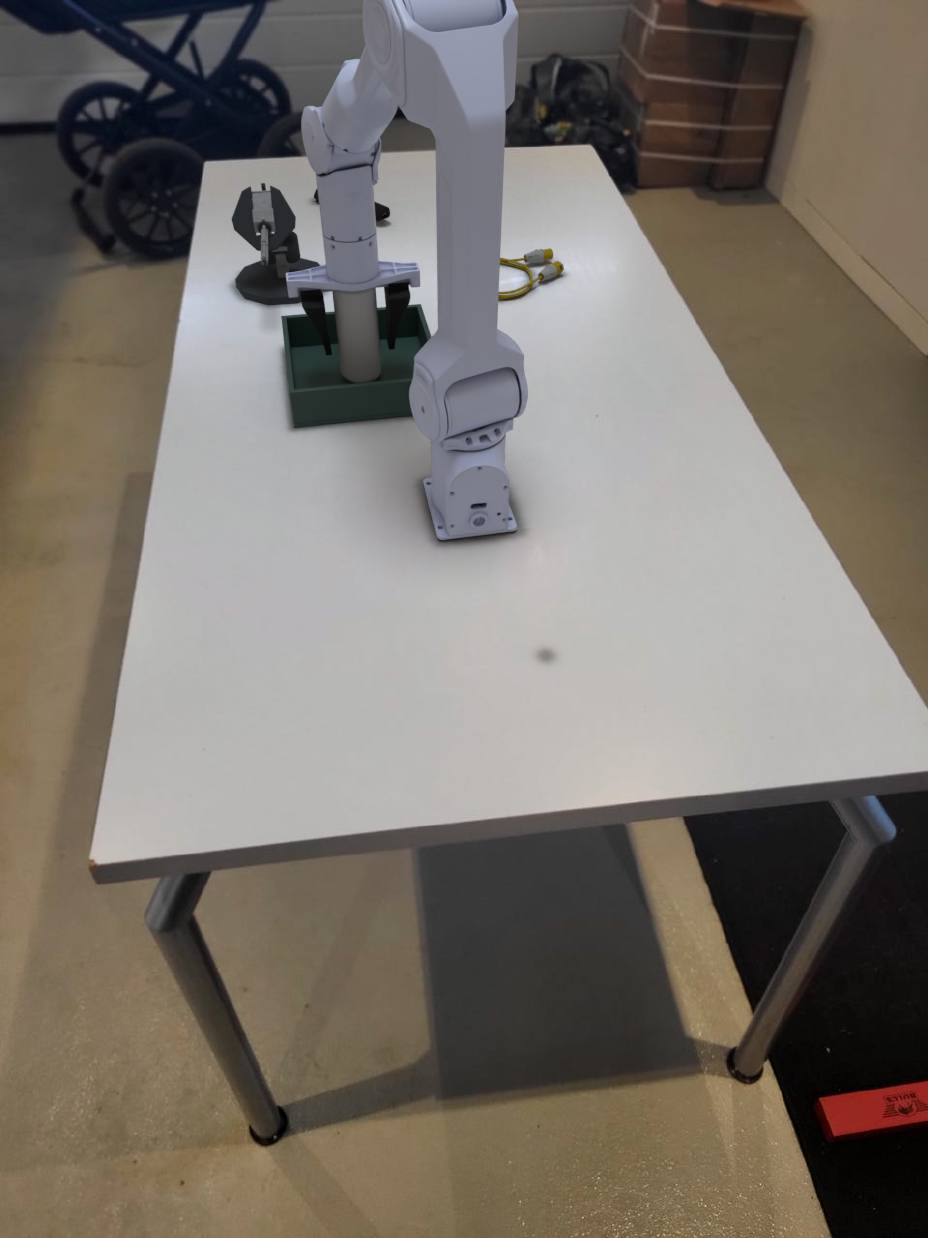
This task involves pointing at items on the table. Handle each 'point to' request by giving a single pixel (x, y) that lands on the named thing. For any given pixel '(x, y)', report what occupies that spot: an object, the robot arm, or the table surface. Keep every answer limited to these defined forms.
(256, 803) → the table surface
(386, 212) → the electric trimmer
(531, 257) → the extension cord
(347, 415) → the open storage bin
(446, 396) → the robot arm
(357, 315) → the beverage can
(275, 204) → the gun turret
